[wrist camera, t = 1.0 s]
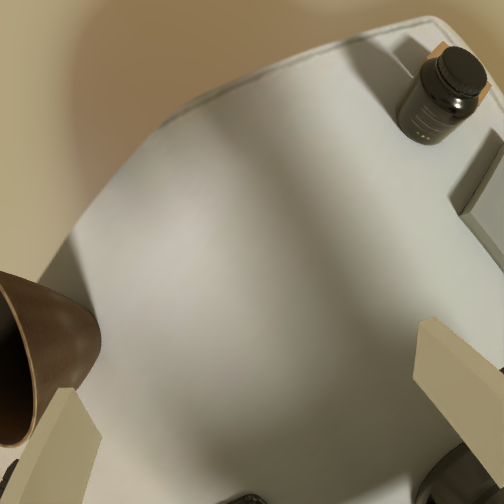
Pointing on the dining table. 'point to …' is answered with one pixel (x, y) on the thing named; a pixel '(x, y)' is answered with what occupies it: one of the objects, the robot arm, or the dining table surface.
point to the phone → (249, 500)
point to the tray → (489, 210)
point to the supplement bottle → (441, 96)
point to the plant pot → (39, 353)
